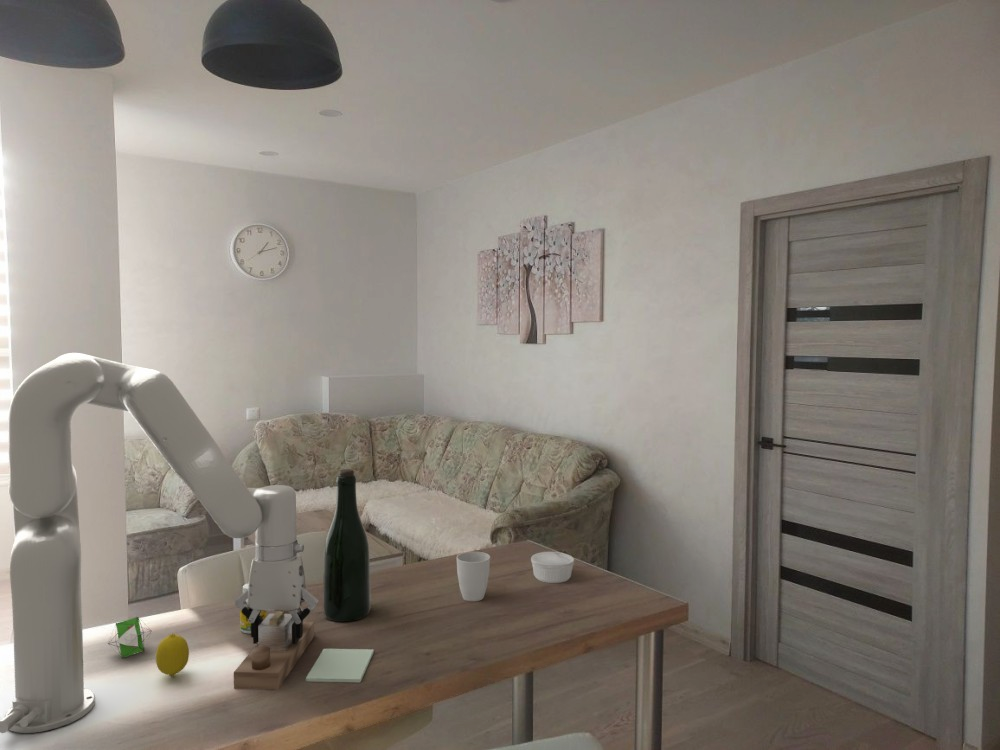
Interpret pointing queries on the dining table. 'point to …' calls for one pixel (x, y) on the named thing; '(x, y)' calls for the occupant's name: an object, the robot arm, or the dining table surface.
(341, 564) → the dark green wine bottle
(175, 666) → the lemon
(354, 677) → the mat
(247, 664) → the tan board with knob
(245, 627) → the supplement bottle
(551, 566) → the ramekin
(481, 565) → the cup
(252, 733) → the dining table surface
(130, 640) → the geometric puzzle
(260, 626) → the white block
